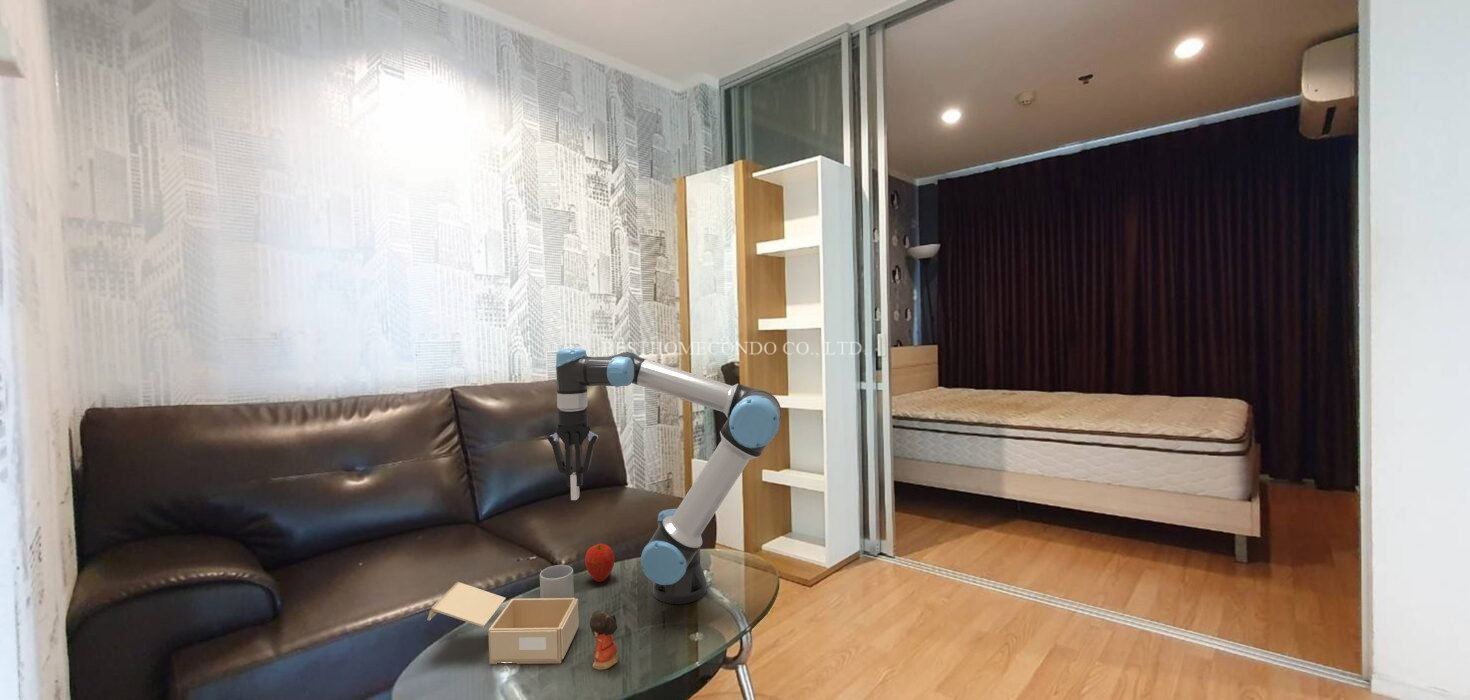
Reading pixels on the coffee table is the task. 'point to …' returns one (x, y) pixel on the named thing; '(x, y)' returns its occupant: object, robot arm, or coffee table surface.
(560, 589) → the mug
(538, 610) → the carton
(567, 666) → the coffee table surface
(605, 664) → the figurine
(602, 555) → the apple
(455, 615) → the lid
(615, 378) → the robot arm
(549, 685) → the coffee table surface
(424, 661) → the coffee table surface
